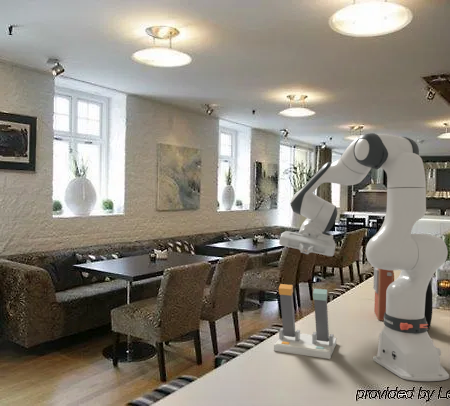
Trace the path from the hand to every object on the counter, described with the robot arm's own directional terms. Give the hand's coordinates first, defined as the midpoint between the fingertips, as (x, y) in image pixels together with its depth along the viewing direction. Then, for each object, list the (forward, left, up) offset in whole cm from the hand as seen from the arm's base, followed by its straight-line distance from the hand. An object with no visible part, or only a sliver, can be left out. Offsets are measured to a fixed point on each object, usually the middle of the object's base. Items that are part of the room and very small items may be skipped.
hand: (304, 251), depth 160 cm
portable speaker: (+6, -46, -30) cm, 55 cm away
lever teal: (-13, -3, -27) cm, 30 cm away
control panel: (+24, -40, -30) cm, 56 cm away
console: (-11, +2, -30) cm, 32 cm away
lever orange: (-9, +7, -27) cm, 29 cm away
